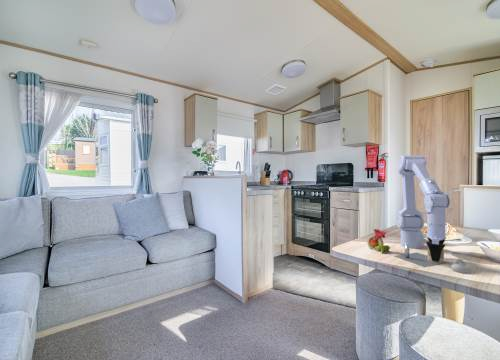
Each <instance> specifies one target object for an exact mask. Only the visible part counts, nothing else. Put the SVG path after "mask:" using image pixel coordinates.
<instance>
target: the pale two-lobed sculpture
mask: <svg viewBox="0 0 500 360" xmlns="http://www.w3.org/2000/svg"><path fill="white" fill-rule="evenodd" d="M450 269H451V270H452V271H453V272H455V273H459V274H470V273H471V271H470V269H469V267H468V266H467V265H466V262H465V261H464V259H461V258H457V259H455V260H454V261H453V263H452V264H451V266H450Z"/></svg>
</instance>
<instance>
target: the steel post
mask: <svg viewBox="0 0 500 360" xmlns="http://www.w3.org/2000/svg"><path fill="white" fill-rule="evenodd" d="M404 254H405V258H409V254H410V248H409V244H405V247H404Z"/></svg>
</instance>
